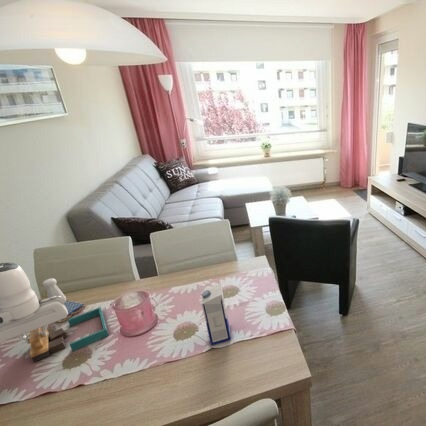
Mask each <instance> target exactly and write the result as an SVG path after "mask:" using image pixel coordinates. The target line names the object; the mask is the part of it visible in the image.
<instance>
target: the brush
mask: <svg viewBox="0 0 426 426" xmlns="http://www.w3.org/2000/svg"><path fill="white" fill-rule="evenodd" d="M41 331H43V329H42V327H41V328H38V329H35V330H33V331H30V332H29V336H30V341H29V342H30V343H29V344H30V349H29V350H30V351H29V356H30V358H31V360H32V362H33V363H35V362H38V361H39V360H41V359H44V358H46V357H49V356H51V353H50V351H49V349H48V342H51V339H50V336H49V334H50V332H49V330H48V329H47V330H46V332H47V336H46V337H43V338H42V337H41V335H40V332H41Z"/></svg>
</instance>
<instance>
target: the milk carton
mask: <svg viewBox="0 0 426 426" xmlns="http://www.w3.org/2000/svg"><path fill="white" fill-rule="evenodd" d="M201 307H202V311H203V315H204V320H205V323H206V328H207V333H208V338H209V341H210V345H211V346H213V345H217V344H220V343H225V342H227V341H228V342H229V341H231V340H232V338H231V328H230V322H229V318H228V317H229V316H228V313H227V308H226V303H225V297H224V293H223V286H222V283H218V284H216V285H214V286H211V287H210V288H208V289H205V290H203V291H202V292H201Z"/></svg>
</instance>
